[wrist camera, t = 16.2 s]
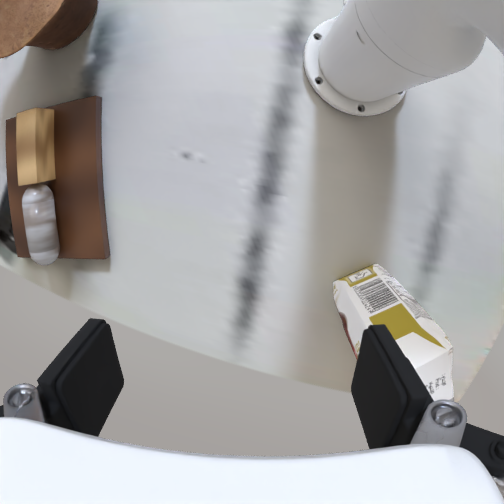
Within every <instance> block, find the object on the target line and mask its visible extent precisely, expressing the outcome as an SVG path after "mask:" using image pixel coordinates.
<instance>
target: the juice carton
mask: <svg viewBox="0 0 504 504" xmlns="http://www.w3.org/2000/svg"><path fill="white" fill-rule="evenodd" d="M333 295H334V301H335V304H336V307H337V310H338V312H339V314H340V317H341V319H342V323H343V327H344V330H345V332H346V335H347V337H348V340H349V342H350V344H351V347H352V349H353V351H354V354H355V356H356V359H358V354H359V349H360V344H361V339H362V334H363V331H364V329H368V327H369V325H378V324H385V325H386V327H387V328H388V330H389V331H390V333H391V334H392V336H393V338H394V339H395V341H396V342H397V344H398V345H399V347H400V349H401V350H402V352H403V353H404V355H405V357H407V358H408V359H409V360H410V362H411V364H412V365H413V367H414V369H415V370H416V372H417V373H418V375H419V377H420V378H421V380H422V382H423V383H424V385H425V387H426V388H427V390H428V392H429V393H430V395H431V397H432V398H433V400H434V401H436V400H440V399H447V400H452V401H454V396H453V382H452V376H451V372H452V364H453V347H452V346H451V344H450V342H449V340H448V338H447V336H446V334H445V333H444V331H443V330H442V329H441V328H440V327H439V326H438V325H437V323H436V322H435V321H434V320H433V319H432V318H431V317H430V316H429V314H428V313H427V312H426V311H425V310H424V309H423V308H422V307H421V306H420V305H419V303H418V302H417V301H416V300H415V299H414V298H413V297H412V296H411V295H410V294H409V293H408V292H407V291H406V289H405V288H404V287H403V286H402V285H401V284H400V283H399V282H398V281H397V280H396V279H395V278H394V277H393V276H392V275H391V274H390V273H389V272H387V271H386V270H385V269H384V268H382V267H381V266H380V265H378V264H374V265H371V266H369V267H367V268H364V269H362V270H360V271H357V272H355V273H353V274H350V275H348V276H346V277H343V278H341V279H339V280H336V281H334V282H333Z"/></svg>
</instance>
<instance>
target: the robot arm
mask: <svg viewBox="0 0 504 504" xmlns="http://www.w3.org/2000/svg"><path fill="white" fill-rule="evenodd" d="M343 4H344V7H343V9H342V10H341V12H340V14H339V15H338V17H334V18H332V19H329V20H326V21H325V22H323V23H321V24H320V25H318V26H317V27H316V28H315V29H314V30H313V31H312V33H311V35H310V36H309V38H308V40H307V42H306V45H305V49H304V54H303V56H304V67H305V72H306V75H307V77H308V79H309V82H310V84H311V85H312V87H313V88H314V90H315V91H316V92H317V93H318V94H319V95H320V97H321V98H322V99H323V100H325V101H326V102H327V103H329V104H330V105H331V106H333V107H334V108H336V109H338V110H340V111H342V112H345V113H348V114H351V115H357V116H373V115H378V114H381V113H384V112H387V111H388V110H390V109H392V108H393V107H395V106H396V105H397V104H398V103H399V102H400V101H401V99H402V98H403V97H404V95H405V93H406V90H407V89H410V88H412V87H415V86H418V85H421V84H424V83H427V82H430V81H432V80H435V79H438V78H442V77H445V76H447V75H450V74H453V73H456V72H459V71H461V70H463V69H465V68H466V67H468V66H469V65H471V64H472V63H473V62H474V61H475V60H476V58H477V57H478V55H479V54H480V52H481V51H482V48H483V46H484V43H485V39H486V36H487V37H488V38H489V39H490V40H491V41H492V43H493V44H494V45H495V46H496V47H497V48H498V49H499V50H500V52H501V53H502V54H503V55H504V0H343ZM315 38H318V40H316V39H315ZM317 80H318V81H319V82H320V84H317V83H316V81H317ZM397 93H398V94H397ZM358 107H360V108H361V111H359V110H358ZM37 381H38V384H39V385H38V386H37V388H36V387H35V386H33V385H31V384H25V383H23V384H18V385H15V386H13V387H12V388H10V389H9V390H8V391H7V392H6V394H5V395H4V399H3V405H2V406H0V504H504V436H502V435H499V434H496V433H493V432H490V431H487V430H484V429H482V428H479V427H476V426H473V425H471V424H468V423H466V422H467V414H466V411H465V410H464V408H463V407H462V406H461V405H459V404H458V403H456V402H454V401H452V400H447V399H440V400H436V401H434V400H433V398H432V397H431V395H430V393H429V392H428V390H427V388H426V387H425V385H424V383H423V382H422V380H421V378H420V377H419V375H418V373H417V372H416V370H415V369H414V367H413V365H412V364H411V362H410V360H409V359H408V358H407V357H405V355H404V353H403V352H402V350H401V349H400V347H399V345H398V344H397V342H396V341H395V339H394V338H393V336H392V334H391V333H390V331H389V330H388V328H387V327H386V325H385V324H378V325H369V327H368V329H364V331H363V334H362V339H361V344H360V349H359V354H358V359H357V363H356V368H355V372H354V377H353V381H352V386H351V392H352V396H353V398H354V402H355V405H356V408H357V411H358V414H359V417H360V420H361V424H362V426H363V430H364V433H365V436H366V439H367V443H368V446H369V449H368V450H360V451H351V452H341V453H330V454H317V455H299V456H234V455H215V454H202V453H191V452H181V451H174V450H166V449H159V448H153V447H146V446H140V445H135V444H129V443H124V442H119V441H114V440H110V439H105V438H101V437H98V436H99V434H100V431H101V429H102V427H103V425H104V423H105V421H106V419H107V417H108V415H109V413H110V411H111V409H112V407H113V405H114V403H115V402H116V399H117V398H118V396H119V394H120V392H121V389H122V388H123V385H124V378H123V374H122V371H121V367H120V364H119V360H118V356H117V352H116V348H115V345H114V340H113V337H112V332H111V328H110V325H109V324H107V323H106V321H105V320H102V319H92V318H91V319H89V320H88V321H87V322H86V323H85V325H84V326H83V327H82V328H81V329H80V331H78V332H77V334H76V335H75V336H74V337H73V338H72V339H71V340H70V342H69V343H68V344H67V345H66V346H65V347H64V348H63V350H62V351H61V352H60V353H59V354H58V356H57V357H56V358H55V359H54V361H53V362H52V363H51V364H50V365H49V366H48V368H47V369H46V370H45V371H44V372H43V374H42V375H41V376H40V377H39V378H38V380H37Z"/></svg>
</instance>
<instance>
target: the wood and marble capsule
mask: <svg viewBox="0 0 504 504" xmlns="http://www.w3.org/2000/svg"><path fill="white" fill-rule="evenodd" d="M16 149H17V172H18V186H22V185H29V184H33V185H31V186H30V187H28V188H27V190H26V191H25V193H24V195H23V198H22V208H23V216H24V223H25V230H26V237H27V243H28V248H29V253H30V256H31V258H32V259H33V260H34V261H35V262H36V263H38V264H40V265H49V264H51V263H53V262H54V261H55V260H56V259H57V257H58V255H59V252H60V243H59V237H58V230H57V222H56V214H55V205H54V197H53V193H52V191H51V189H50V188H49V187H48V186H46V185H45V184H41V183H40V182H45V181H49V180H54V179H56V177H55V158H54V109H45V108H32V109H29V110H26V111H23V112H20V113H17V119H16ZM35 183H36V184H35Z"/></svg>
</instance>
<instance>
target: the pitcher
mask: <svg viewBox="0 0 504 504" xmlns="http://www.w3.org/2000/svg"><path fill="white" fill-rule="evenodd" d="M97 2H98V0H0V58H4V57H6V56H10V55H12V54H14V53H16V52H18V51H19V50H21V49H22V48H23V47H25V46H35V47H40V48H44V49H48V50H55V49H59V48H62V47H64V46H67V45H68V44H70V43H71V42H72V41H74V40H75V39H76V38H77V37H79V36H80V35H81V34H82V32H83V31H84V30H85V29H86V27H87V26H88V25H89V23H90V21H91V20H92V18H93V16H94V13H95V10H96V7H97Z"/></svg>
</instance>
